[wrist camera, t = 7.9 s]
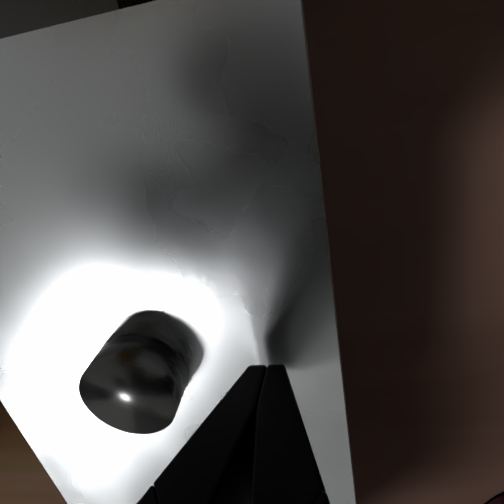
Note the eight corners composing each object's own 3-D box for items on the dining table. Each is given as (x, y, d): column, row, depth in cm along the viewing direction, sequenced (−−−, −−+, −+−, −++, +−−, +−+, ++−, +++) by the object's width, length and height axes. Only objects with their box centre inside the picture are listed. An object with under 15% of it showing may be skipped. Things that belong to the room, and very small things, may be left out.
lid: (357, 506, 14) (363, 582, 12) (87, 494, 16) (56, 556, 14) (300, -25, 7) (293, -47, 5) (-160, 86, 9) (-287, 100, 7)
